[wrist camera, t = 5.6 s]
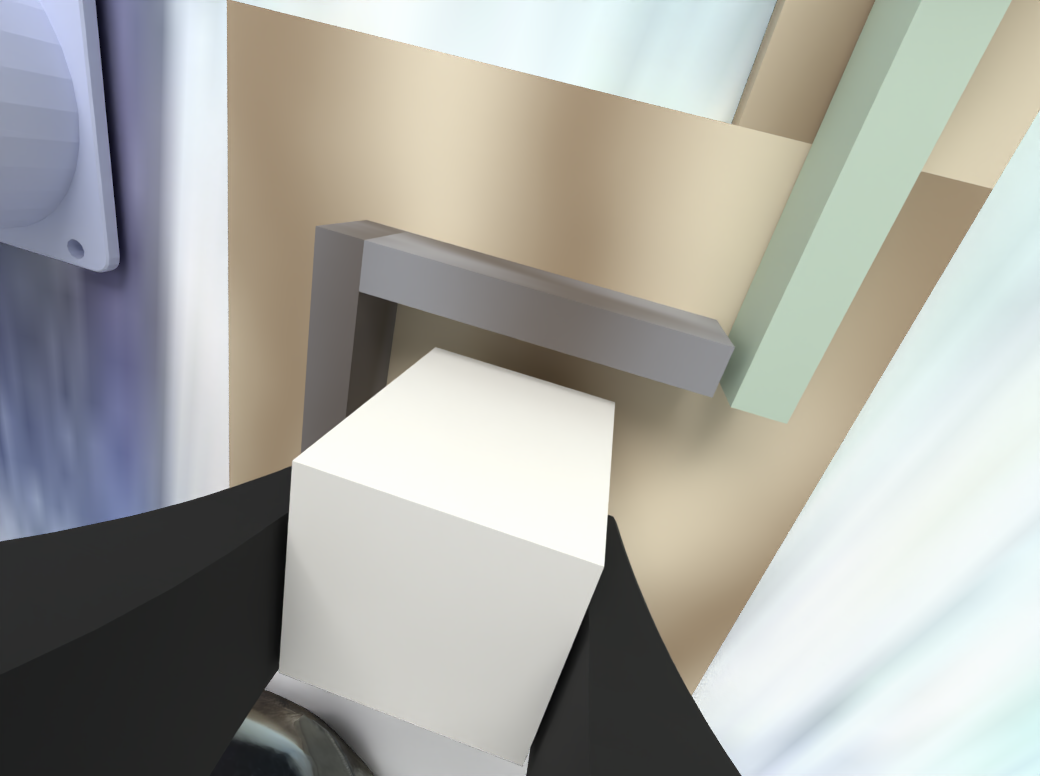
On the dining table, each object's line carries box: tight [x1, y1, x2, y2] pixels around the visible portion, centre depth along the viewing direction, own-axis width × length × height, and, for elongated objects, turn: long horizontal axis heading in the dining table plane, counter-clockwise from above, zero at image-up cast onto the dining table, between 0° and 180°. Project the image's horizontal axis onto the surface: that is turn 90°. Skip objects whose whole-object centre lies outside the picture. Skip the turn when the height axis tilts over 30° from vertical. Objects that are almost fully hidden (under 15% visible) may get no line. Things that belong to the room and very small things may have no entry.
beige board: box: [227, 0, 1040, 696], centre depth 10 cm, size 15×30×3 cm, turn 166°
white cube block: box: [279, 347, 615, 767], centre depth 9 cm, size 4×4×5 cm
